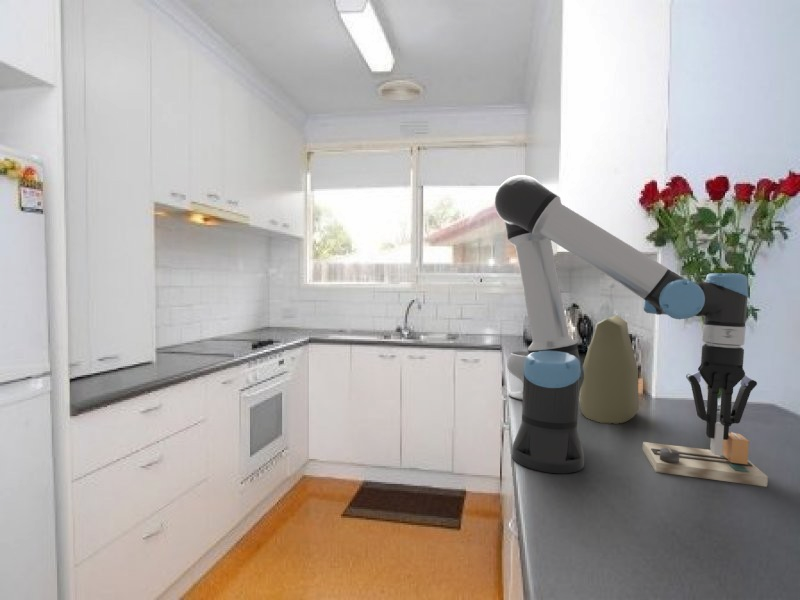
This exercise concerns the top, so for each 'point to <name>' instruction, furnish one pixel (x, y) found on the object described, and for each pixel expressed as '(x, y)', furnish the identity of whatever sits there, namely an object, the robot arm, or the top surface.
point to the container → (610, 374)
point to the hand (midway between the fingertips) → (716, 453)
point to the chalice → (517, 369)
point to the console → (701, 464)
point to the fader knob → (736, 448)
